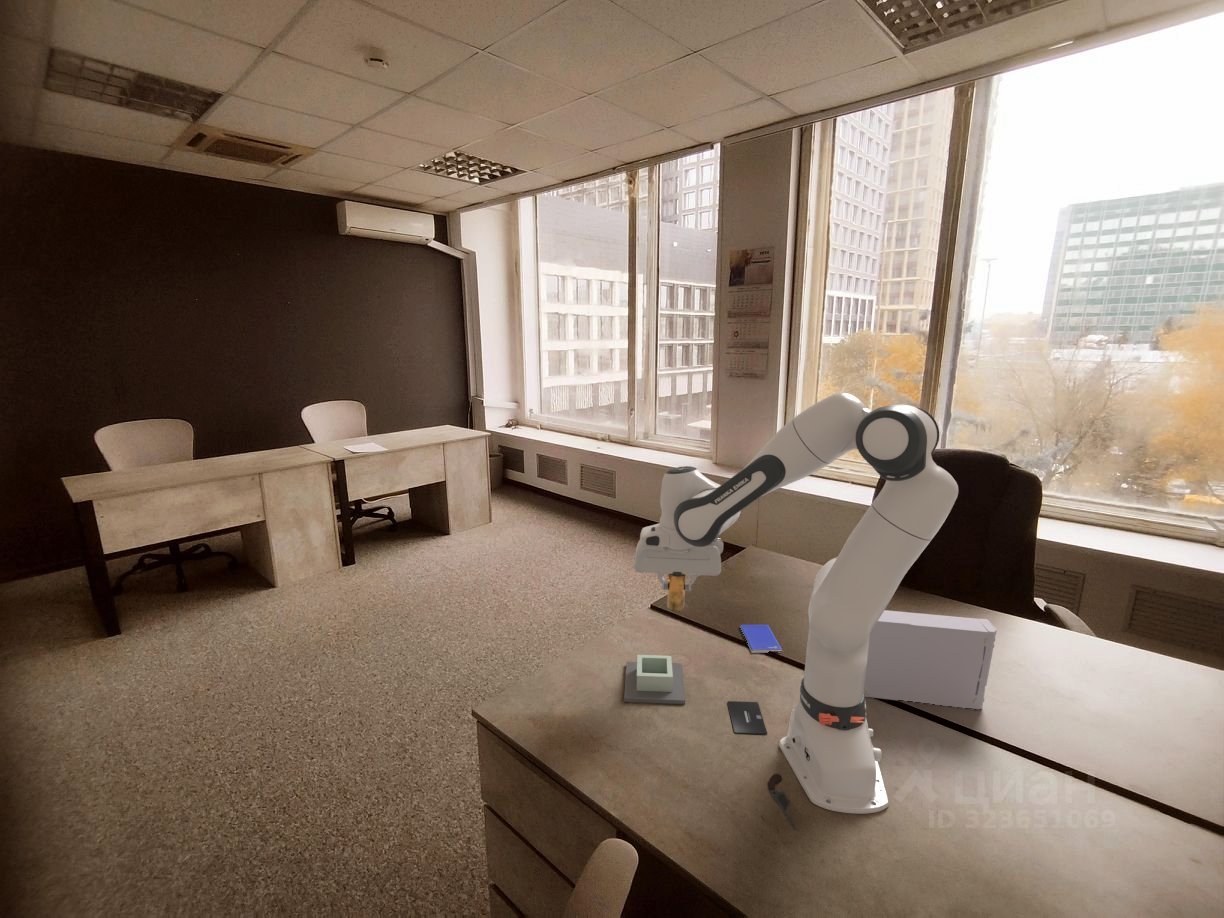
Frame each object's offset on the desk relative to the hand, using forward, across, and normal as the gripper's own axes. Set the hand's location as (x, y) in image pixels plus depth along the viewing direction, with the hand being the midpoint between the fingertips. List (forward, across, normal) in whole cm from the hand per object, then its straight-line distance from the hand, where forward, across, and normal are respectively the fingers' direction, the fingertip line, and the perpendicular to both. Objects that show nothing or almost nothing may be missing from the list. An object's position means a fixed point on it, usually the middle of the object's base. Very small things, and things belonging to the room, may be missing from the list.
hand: (676, 589), depth 130 cm
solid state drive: (+24, -16, +14) cm, 32 cm away
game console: (+23, -56, +3) cm, 61 cm away
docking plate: (+24, +4, +3) cm, 24 cm away
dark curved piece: (+24, -20, +36) cm, 48 cm away
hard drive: (+24, -25, -18) cm, 39 cm away
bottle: (+5, 0, 0) cm, 5 cm away
